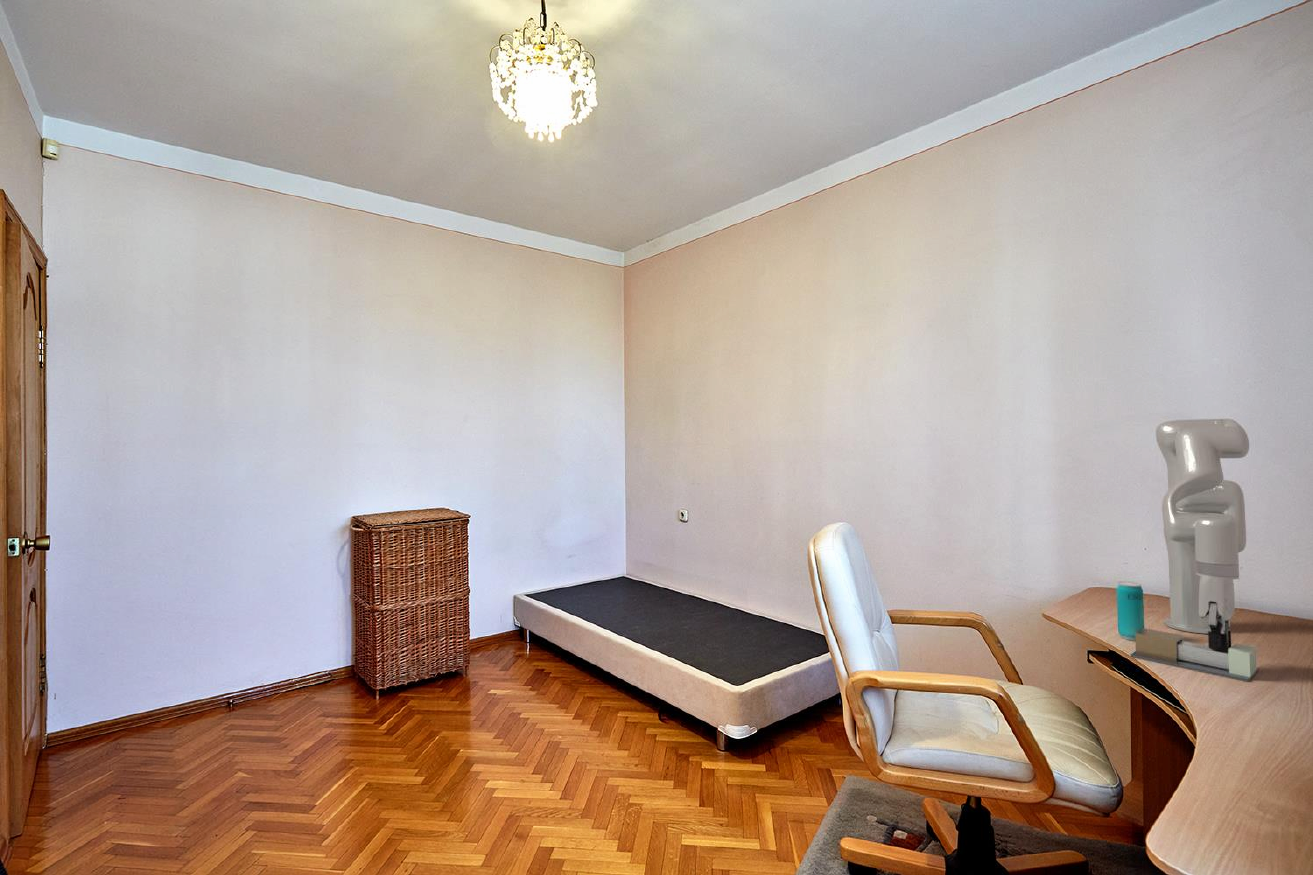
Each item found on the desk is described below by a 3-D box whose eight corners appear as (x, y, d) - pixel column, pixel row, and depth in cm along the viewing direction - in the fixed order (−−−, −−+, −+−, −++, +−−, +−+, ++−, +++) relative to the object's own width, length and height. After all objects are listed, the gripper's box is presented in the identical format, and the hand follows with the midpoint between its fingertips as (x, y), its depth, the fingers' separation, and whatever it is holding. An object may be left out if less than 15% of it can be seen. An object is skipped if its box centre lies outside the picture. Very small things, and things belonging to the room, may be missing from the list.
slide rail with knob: (1144, 647, 160) (1143, 625, 160) (1258, 670, 142) (1257, 646, 143) (1130, 656, 153) (1129, 634, 153) (1248, 681, 136) (1247, 656, 136)
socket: (1236, 665, 144) (1235, 643, 144) (1256, 669, 141) (1255, 646, 141) (1229, 672, 140) (1228, 649, 140) (1250, 677, 137) (1249, 653, 137)
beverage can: (1149, 642, 164) (1147, 586, 164) (1125, 641, 165) (1123, 585, 165) (1137, 635, 169) (1135, 581, 170) (1113, 634, 171) (1112, 580, 171)
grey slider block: (1169, 652, 153) (1167, 612, 153) (1245, 667, 142) (1244, 624, 142) (1164, 656, 150) (1162, 615, 151) (1241, 672, 139) (1240, 627, 139)
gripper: (1205, 563, 152) (1207, 637, 152) (1186, 572, 142) (1189, 651, 142) (1246, 567, 146) (1249, 644, 146) (1230, 577, 136) (1233, 660, 136)
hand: (1219, 647), depth 144 cm, fingers closed on grey slider block, 3 cm apart
